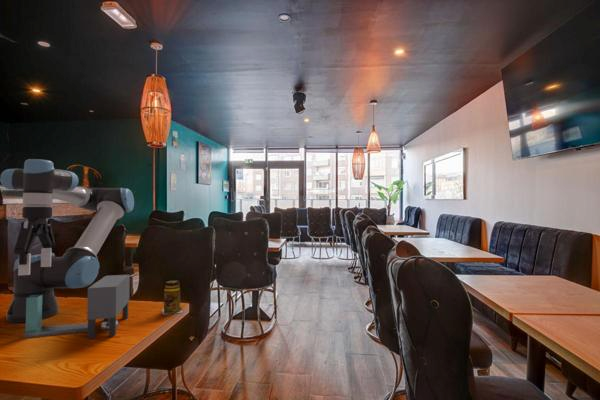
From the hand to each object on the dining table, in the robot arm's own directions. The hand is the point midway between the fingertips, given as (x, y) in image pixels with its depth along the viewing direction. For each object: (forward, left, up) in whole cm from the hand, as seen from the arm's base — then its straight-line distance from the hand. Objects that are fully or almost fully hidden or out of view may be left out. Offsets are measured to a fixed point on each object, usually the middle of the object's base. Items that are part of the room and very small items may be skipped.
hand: (35, 270), depth 101 cm
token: (0, +22, -21) cm, 30 cm away
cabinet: (0, +22, -21) cm, 30 cm away
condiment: (-12, +41, -21) cm, 47 cm away
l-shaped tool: (0, +7, -21) cm, 22 cm away
